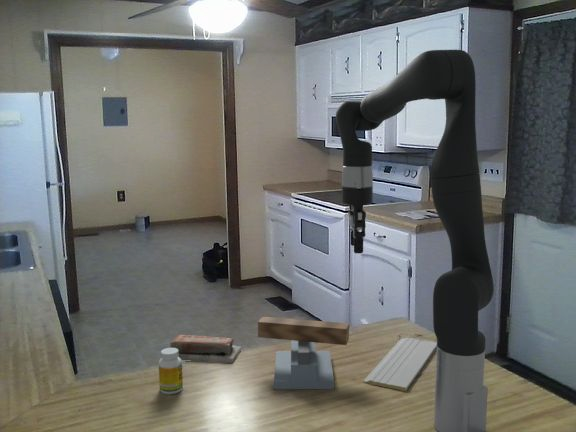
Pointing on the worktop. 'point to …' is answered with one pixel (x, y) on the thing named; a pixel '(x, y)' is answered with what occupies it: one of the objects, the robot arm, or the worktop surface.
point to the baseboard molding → (402, 363)
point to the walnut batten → (303, 330)
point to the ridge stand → (303, 368)
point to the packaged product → (205, 348)
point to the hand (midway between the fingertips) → (356, 249)
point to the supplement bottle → (170, 371)
